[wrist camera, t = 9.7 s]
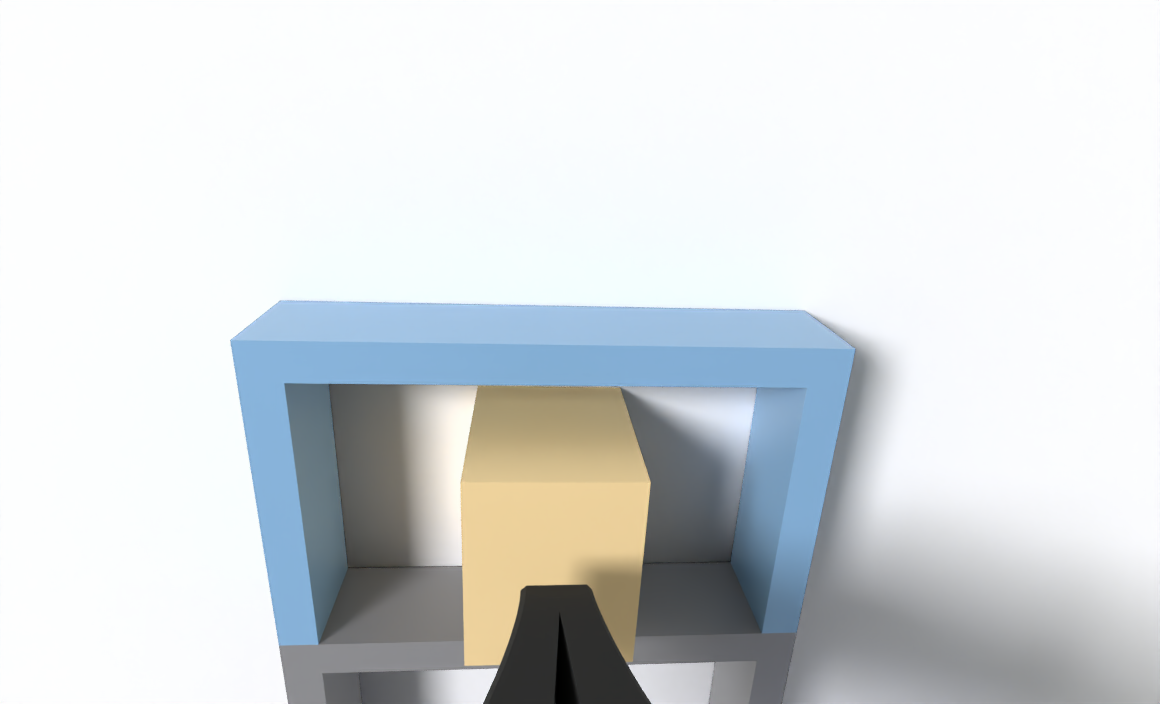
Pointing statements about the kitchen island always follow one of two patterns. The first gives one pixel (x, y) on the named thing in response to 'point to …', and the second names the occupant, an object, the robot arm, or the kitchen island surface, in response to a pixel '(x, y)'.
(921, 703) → the kitchen island surface
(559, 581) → the sand colored cube
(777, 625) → the two-compartment tray
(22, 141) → the kitchen island surface
